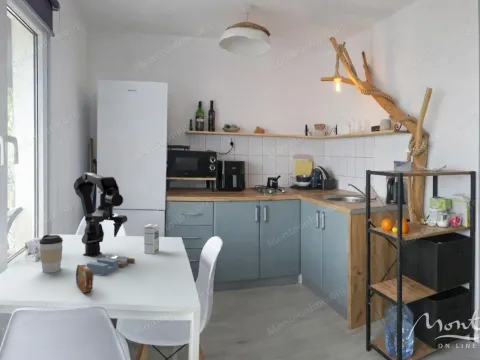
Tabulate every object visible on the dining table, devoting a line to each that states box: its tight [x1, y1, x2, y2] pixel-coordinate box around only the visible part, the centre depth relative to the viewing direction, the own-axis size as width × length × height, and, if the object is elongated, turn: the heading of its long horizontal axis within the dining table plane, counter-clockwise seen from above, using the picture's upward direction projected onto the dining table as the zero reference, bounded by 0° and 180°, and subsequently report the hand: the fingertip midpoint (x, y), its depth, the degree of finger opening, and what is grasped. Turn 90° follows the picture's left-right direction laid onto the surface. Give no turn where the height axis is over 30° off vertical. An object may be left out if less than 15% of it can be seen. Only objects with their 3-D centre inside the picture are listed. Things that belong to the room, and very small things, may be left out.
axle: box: [105, 254, 130, 267], centre depth 159 cm, size 10×4×4 cm, turn 70°
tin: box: [75, 264, 94, 294], centre depth 129 cm, size 15×3×8 cm, turn 38°
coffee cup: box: [38, 234, 64, 273], centre depth 148 cm, size 9×9×15 cm
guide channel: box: [118, 257, 136, 269], centre depth 160 cm, size 13×9×2 cm
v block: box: [86, 257, 119, 276], centre depth 149 cm, size 9×9×4 cm
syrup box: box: [143, 223, 160, 255], centre depth 179 cm, size 6×6×14 cm
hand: (106, 235), depth 162 cm, fingers open, 9 cm apart
